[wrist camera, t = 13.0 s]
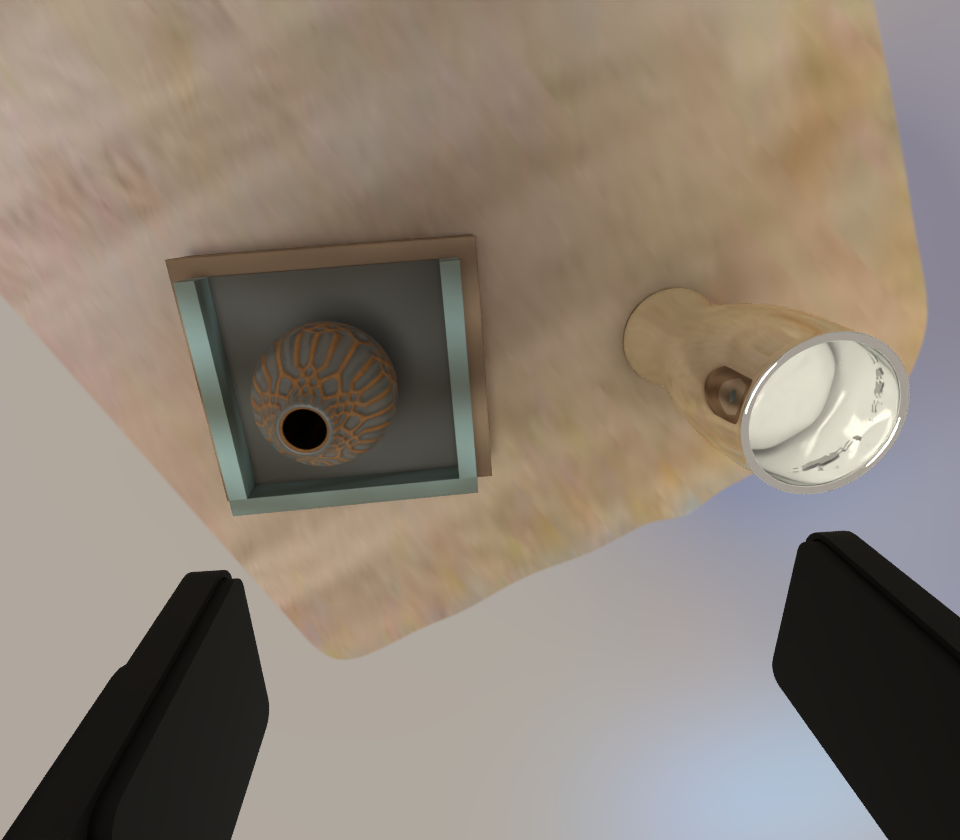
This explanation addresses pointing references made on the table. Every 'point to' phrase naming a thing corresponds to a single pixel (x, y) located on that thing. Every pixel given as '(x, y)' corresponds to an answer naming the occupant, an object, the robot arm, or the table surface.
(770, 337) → the beer glass
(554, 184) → the table surface
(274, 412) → the vase
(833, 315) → the table surface
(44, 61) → the table surface
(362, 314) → the dock
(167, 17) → the table surface
